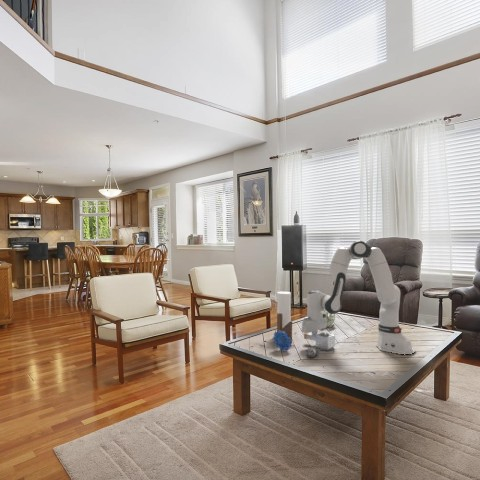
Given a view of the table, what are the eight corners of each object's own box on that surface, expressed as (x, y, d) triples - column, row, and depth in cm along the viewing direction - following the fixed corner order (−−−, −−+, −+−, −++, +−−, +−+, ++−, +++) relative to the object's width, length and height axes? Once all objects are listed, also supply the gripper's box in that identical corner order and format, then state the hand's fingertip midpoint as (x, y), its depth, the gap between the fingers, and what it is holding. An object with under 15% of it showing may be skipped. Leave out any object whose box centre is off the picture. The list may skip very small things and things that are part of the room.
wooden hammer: (289, 344, 225) (289, 316, 225) (275, 340, 232) (275, 313, 232) (292, 342, 228) (292, 315, 227) (278, 339, 235) (278, 312, 235)
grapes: (270, 351, 211) (270, 331, 211) (274, 347, 217) (274, 328, 217) (289, 353, 206) (289, 333, 206) (292, 350, 213) (292, 330, 212)
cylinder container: (287, 337, 240) (287, 293, 240) (274, 334, 245) (275, 292, 245) (292, 333, 248) (292, 291, 248) (280, 331, 253) (280, 290, 253)
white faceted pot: (336, 348, 216) (337, 334, 216) (326, 352, 210) (326, 337, 210) (323, 344, 224) (323, 330, 224) (313, 347, 218) (313, 333, 218)
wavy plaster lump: (330, 336, 266) (332, 320, 258) (314, 329, 272) (316, 314, 265) (339, 322, 279) (341, 307, 271) (323, 316, 285) (325, 301, 277)
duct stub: (310, 354, 206) (310, 345, 206) (318, 356, 203) (318, 347, 203) (305, 357, 201) (305, 348, 201) (313, 358, 198) (313, 350, 198)
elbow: (334, 346, 217) (334, 335, 217) (327, 349, 211) (327, 337, 211) (309, 339, 230) (309, 329, 230) (301, 342, 224) (302, 331, 224)
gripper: (306, 319, 216) (307, 341, 216) (328, 314, 228) (328, 335, 229) (299, 317, 221) (299, 339, 221) (320, 312, 233) (321, 333, 234)
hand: (314, 337), depth 225 cm, fingers closed
